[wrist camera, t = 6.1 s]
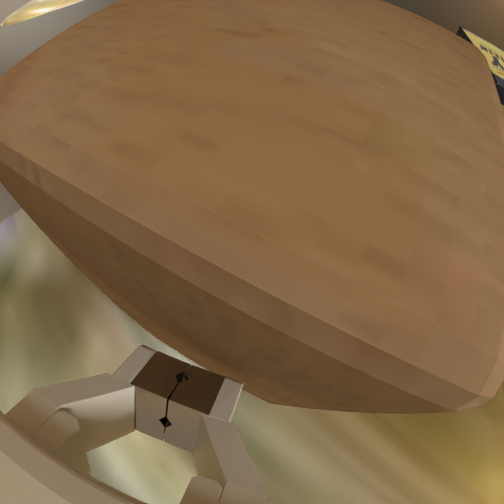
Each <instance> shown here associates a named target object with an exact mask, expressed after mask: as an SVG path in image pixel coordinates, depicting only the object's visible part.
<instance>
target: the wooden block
mask: <svg viewBox="0 0 504 504" xmlns="http://www.w3.org/2000/svg"><path fill="white" fill-rule="evenodd" d="M0 181H1V183H2V184H3V185H4V186H5V188H6V189H7V190H8V191H9V193H10V194H11V195H12V196H13V198H14V199H15V200H16V201H17V202H18V203H19V205H20V206H21V207H22V208H23V210H24V211H25V212H26V213H27V214H28V215H29V216H30V218H31V219H32V220H33V221H34V222H35V223H36V224H37V225H38V227H39V228H40V229H41V230H42V231H43V232H44V233H45V234H46V235H47V236H48V238H49V239H50V240H51V241H52V242H53V243H54V244H55V245H56V246H57V247H58V248H59V249H60V250H61V251H62V252H63V253H64V254H65V255H66V256H67V257H68V258H69V259H70V260H71V261H72V262H73V263H74V264H75V265H76V266H77V267H78V268H79V269H80V270H81V271H82V272H83V273H84V274H85V275H86V276H87V277H88V278H89V279H90V280H91V281H92V282H93V283H94V284H95V285H96V286H97V287H98V288H99V289H101V290H102V291H103V292H104V293H105V294H106V295H107V296H108V297H109V298H110V299H111V300H113V301H114V302H115V303H116V304H117V305H118V306H119V307H120V308H122V309H123V310H124V311H125V312H126V313H127V314H128V315H130V316H131V317H132V318H133V319H134V320H135V321H137V322H138V323H139V324H140V325H141V326H143V327H144V328H145V329H146V330H147V331H149V332H150V333H151V334H152V335H153V336H155V337H156V338H157V339H159V340H160V341H162V342H163V343H165V344H166V345H168V346H170V347H171V348H173V349H174V350H176V351H178V352H179V353H181V354H182V355H184V356H186V357H187V358H189V359H191V360H192V361H194V362H196V363H197V364H199V365H201V366H202V367H204V368H206V369H208V370H209V371H211V372H213V373H216V374H220V375H223V376H227V377H230V378H233V379H237V380H240V381H243V382H244V384H243V387H242V389H244V390H246V391H247V392H249V393H251V394H253V395H255V396H257V397H259V398H261V399H263V400H265V401H267V402H269V403H272V404H279V405H286V406H294V407H303V408H312V409H322V410H334V411H348V412H368V413H437V412H454V411H461V410H466V409H472V408H477V407H480V406H482V405H483V404H485V403H486V402H488V401H489V400H491V399H493V398H494V396H495V395H496V393H497V391H498V389H499V388H500V386H501V384H502V382H503V380H504V114H503V110H502V106H501V103H500V99H499V96H498V92H497V89H496V86H495V82H494V79H493V76H492V73H491V70H490V67H489V64H488V62H487V59H486V57H485V55H484V54H483V53H482V52H481V51H480V49H479V48H478V47H476V46H475V45H473V44H471V43H470V42H468V41H466V40H464V39H463V38H461V37H459V36H457V35H456V34H453V33H452V32H450V31H448V30H446V29H444V28H443V27H441V26H439V25H437V24H435V23H433V22H431V21H429V20H427V19H424V18H422V17H420V16H418V15H416V14H414V13H411V12H409V11H407V10H404V9H402V8H399V7H397V6H395V5H392V4H390V3H387V2H385V1H382V0H120V1H118V2H116V3H114V4H112V5H110V6H108V7H106V8H104V9H102V10H100V11H98V12H96V13H94V14H92V15H91V16H89V17H87V18H85V19H83V20H81V21H80V22H78V23H76V24H75V25H73V26H71V27H70V28H68V29H66V30H65V31H63V32H61V33H60V34H58V35H57V36H56V37H54V38H52V39H51V40H49V41H48V42H46V43H45V44H43V45H42V46H40V47H39V48H38V49H36V50H35V51H33V52H32V53H30V54H29V55H28V56H26V57H25V58H24V59H22V60H21V61H20V62H19V63H17V64H16V65H15V66H13V67H12V68H11V69H10V70H8V71H7V72H6V73H5V74H4V75H2V76H1V77H0Z"/></svg>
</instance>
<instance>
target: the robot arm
mask: <svg viewBox="0 0 504 504" xmlns="http://www.w3.org/2000/svg"><path fill="white" fill-rule="evenodd" d="M243 384H244V382H243V381H240V380H237V379H233V378H230V377H227V376H223V375H220V374H216V373H213V372H211V371H208V370H205V369H202V368H199V367H196V366H193V365H190V364H188V363H185V362H183V361H181V360H178V359H176V358H173V357H171V356H168V355H166V354H164V353H161V352H159V351H156V350H154V349H151V348H149V347H147V346H144V345H141V346H139V347H138V348H137V349H136V350H135V351H134V352H133V353H132V354H131V355H130V356H129V357H128V358H127V360H126V361H125V362H124V363H123V364H122V365H121V366H120V367H119V368H118V369H117V370H116V371H115V372H114V374H113V375H111V374H109V373H106V374H101V375H97V376H93V377H89V378H84V379H80V380H75V381H71V382H66V383H61V384H56V385H51V386H46V387H41V388H36V389H33V390H32V391H31V392H30V393H29V394H28V395H27V396H25V397H24V398H23V399H22V400H21V401H20V402H19V403H18V404H16V405H15V406H14V407H13V408H12V409H11V410H10V411H9V412H8V413H6V414H5V415H4V414H3V413H2V412H1V411H0V504H147V503H144V502H142V501H140V500H138V499H136V498H133V497H131V496H129V495H127V494H125V493H123V492H121V491H119V490H117V489H115V488H113V487H111V486H109V485H107V484H105V483H104V482H102V481H100V480H98V479H96V478H94V477H93V476H91V475H90V473H91V470H90V466H89V463H88V459H87V456H86V452H88V451H90V450H92V449H95V448H97V447H100V446H102V445H104V444H107V443H109V442H111V441H113V440H116V439H118V438H120V437H122V436H124V435H127V434H129V433H131V432H133V431H135V430H138V431H140V432H142V433H145V434H147V435H150V436H152V437H155V438H157V439H160V440H162V441H163V440H164V438H165V442H167V443H169V444H171V445H174V446H176V447H179V448H181V449H183V450H186V451H188V452H191V453H193V458H194V462H195V466H196V470H197V474H198V476H196V477H193V478H192V479H191V481H190V483H189V485H188V487H187V489H186V491H185V494H184V496H183V498H182V500H181V502H180V504H265V501H266V496H267V493H266V491H265V489H264V487H263V484H262V482H261V480H260V478H259V476H258V474H257V472H256V470H255V468H254V465H253V463H252V461H251V459H250V457H249V455H248V452H247V450H246V448H245V446H244V443H243V441H242V439H241V437H240V434H239V432H238V430H237V427H236V425H235V424H233V423H231V421H232V418H233V415H234V412H235V409H236V406H237V403H238V400H239V397H240V393H241V390H242V387H243Z"/></svg>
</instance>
